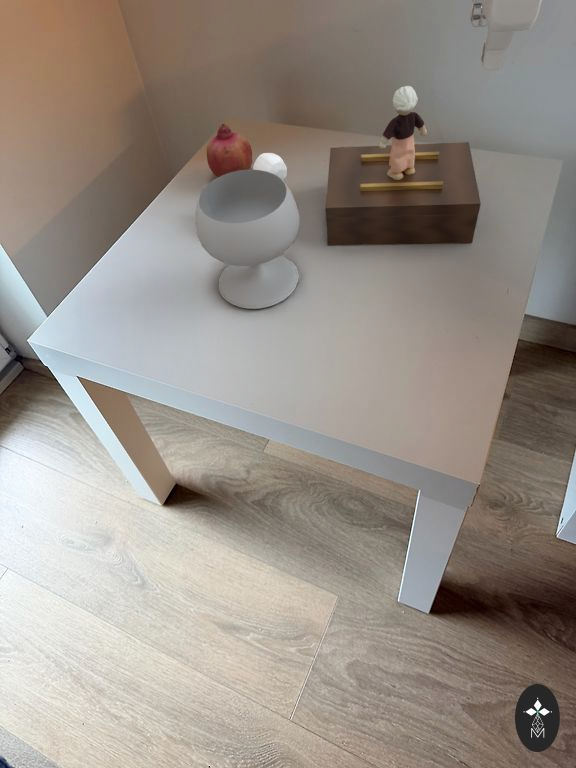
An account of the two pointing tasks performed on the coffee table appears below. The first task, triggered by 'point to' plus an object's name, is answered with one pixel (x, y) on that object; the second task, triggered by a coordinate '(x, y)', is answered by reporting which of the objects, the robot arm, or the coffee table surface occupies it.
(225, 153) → the fruit
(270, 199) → the chalice
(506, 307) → the coffee table surface
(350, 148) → the box with brass rails
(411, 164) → the grandmother figurine
